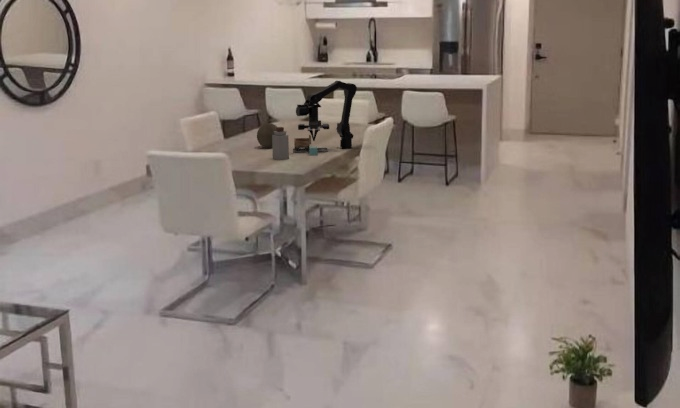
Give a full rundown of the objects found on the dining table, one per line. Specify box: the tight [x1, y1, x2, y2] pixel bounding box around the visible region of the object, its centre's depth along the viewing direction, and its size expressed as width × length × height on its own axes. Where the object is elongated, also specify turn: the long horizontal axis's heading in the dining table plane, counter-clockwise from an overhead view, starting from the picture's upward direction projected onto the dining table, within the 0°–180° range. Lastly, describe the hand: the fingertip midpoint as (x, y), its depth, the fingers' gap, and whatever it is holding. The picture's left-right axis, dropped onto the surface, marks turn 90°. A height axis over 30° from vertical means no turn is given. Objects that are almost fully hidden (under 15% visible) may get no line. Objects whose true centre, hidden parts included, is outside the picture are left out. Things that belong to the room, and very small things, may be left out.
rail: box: [292, 147, 329, 154], centre depth 454 cm, size 21×11×1 cm, turn 94°
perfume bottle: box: [271, 126, 290, 161], centre depth 430 cm, size 7×7×18 cm
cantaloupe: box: [256, 123, 278, 149], centre depth 467 cm, size 14×14×15 cm
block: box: [308, 146, 318, 157], centre depth 442 cm, size 4×4×4 cm
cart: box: [293, 134, 312, 151], centre depth 453 cm, size 10×12×8 cm
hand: (313, 140), depth 453 cm, fingers closed
